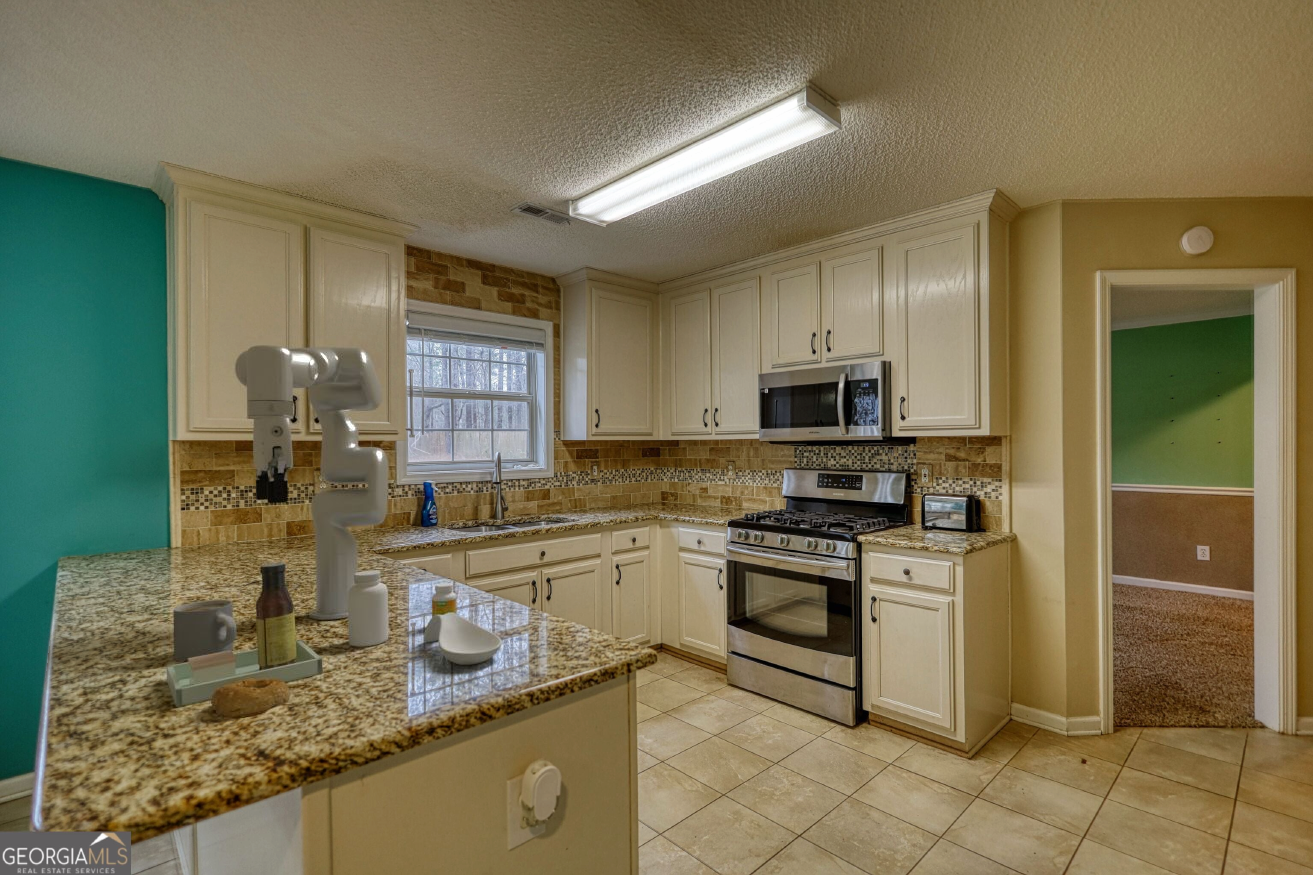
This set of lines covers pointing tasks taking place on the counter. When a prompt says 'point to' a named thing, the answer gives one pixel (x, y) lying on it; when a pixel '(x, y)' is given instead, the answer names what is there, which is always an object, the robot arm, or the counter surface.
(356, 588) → the pill bottle
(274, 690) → the bagel
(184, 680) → the pale green tray
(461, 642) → the spoon rest
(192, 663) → the pink lidded box
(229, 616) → the coffee mug
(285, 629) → the sauce bottle
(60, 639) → the counter surface
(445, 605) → the supplement bottle
